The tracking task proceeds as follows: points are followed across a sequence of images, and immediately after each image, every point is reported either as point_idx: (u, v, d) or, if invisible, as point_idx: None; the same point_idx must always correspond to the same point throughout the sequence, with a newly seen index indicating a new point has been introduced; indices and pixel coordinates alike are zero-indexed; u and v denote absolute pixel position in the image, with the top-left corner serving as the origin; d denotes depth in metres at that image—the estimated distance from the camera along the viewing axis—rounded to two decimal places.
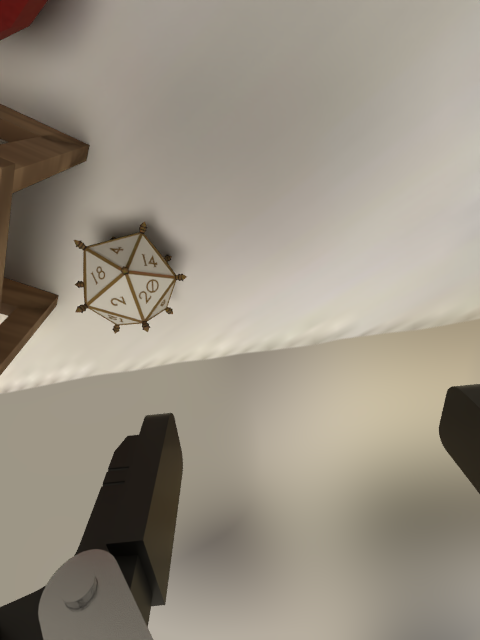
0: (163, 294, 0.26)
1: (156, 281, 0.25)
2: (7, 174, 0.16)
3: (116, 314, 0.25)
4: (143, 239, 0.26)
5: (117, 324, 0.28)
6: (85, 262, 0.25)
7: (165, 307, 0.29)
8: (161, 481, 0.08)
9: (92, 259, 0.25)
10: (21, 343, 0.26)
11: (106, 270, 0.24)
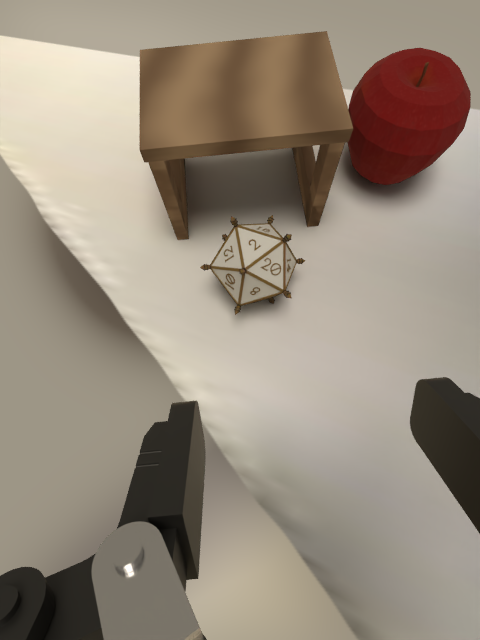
0: (269, 282, 0.28)
1: (279, 271, 0.28)
2: (345, 135, 0.25)
3: (240, 247, 0.28)
4: (294, 262, 0.31)
5: (212, 265, 0.30)
6: (262, 224, 0.30)
7: (242, 302, 0.30)
8: (192, 463, 0.08)
9: (268, 226, 0.30)
10: (169, 195, 0.30)
11: (271, 232, 0.29)
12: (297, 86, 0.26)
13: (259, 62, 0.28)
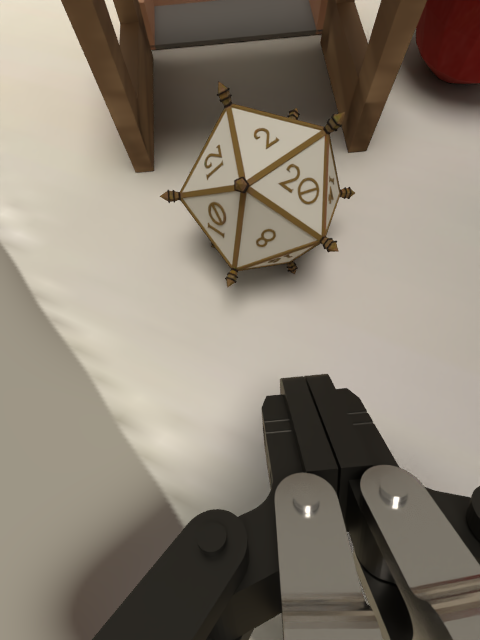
0: (296, 218, 0.14)
1: (315, 197, 0.14)
2: None
3: (236, 143, 0.13)
4: (338, 193, 0.17)
5: (183, 191, 0.15)
6: None
7: (240, 263, 0.16)
8: None
9: None
10: (102, 57, 0.16)
11: None
12: None
13: None
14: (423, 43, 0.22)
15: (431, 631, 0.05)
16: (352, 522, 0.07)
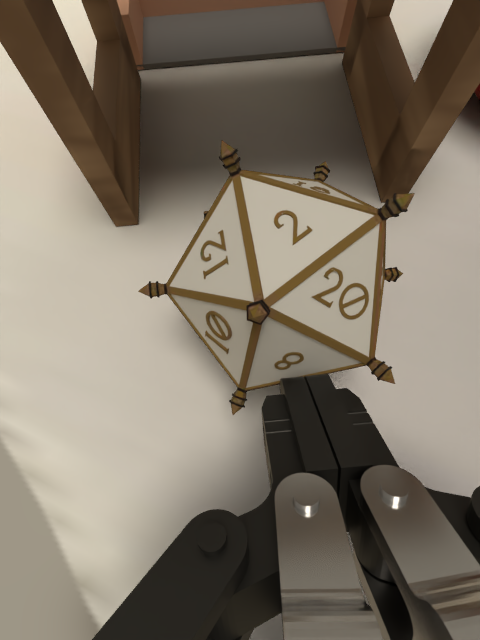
0: (335, 341, 0.09)
1: (362, 308, 0.10)
2: None
3: (248, 235, 0.09)
4: (382, 278, 0.12)
5: (170, 285, 0.11)
6: (303, 178, 0.12)
7: (251, 384, 0.11)
8: None
9: (320, 185, 0.12)
10: (58, 96, 0.11)
11: (336, 196, 0.10)
12: None
13: None
14: None
15: (431, 632, 0.05)
16: (352, 522, 0.07)
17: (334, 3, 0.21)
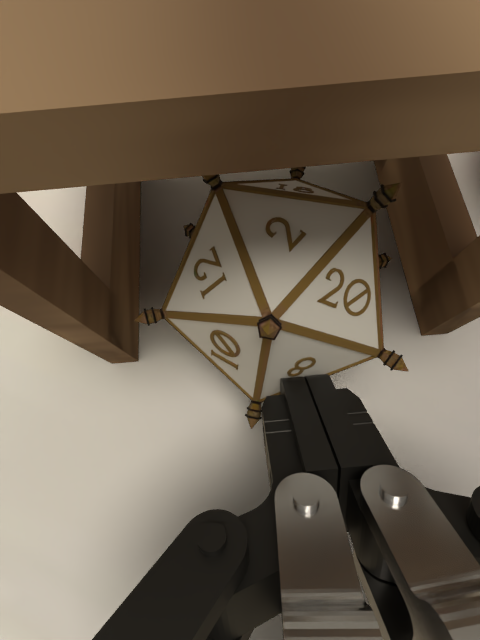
0: (345, 340, 0.09)
1: (366, 302, 0.10)
2: None
3: (242, 249, 0.09)
4: None
5: (167, 309, 0.11)
6: (282, 179, 0.12)
7: (265, 395, 0.11)
8: None
9: (299, 184, 0.11)
10: (33, 304, 0.09)
11: (320, 193, 0.10)
12: None
13: None
14: None
15: (430, 631, 0.05)
16: (352, 522, 0.07)
17: None
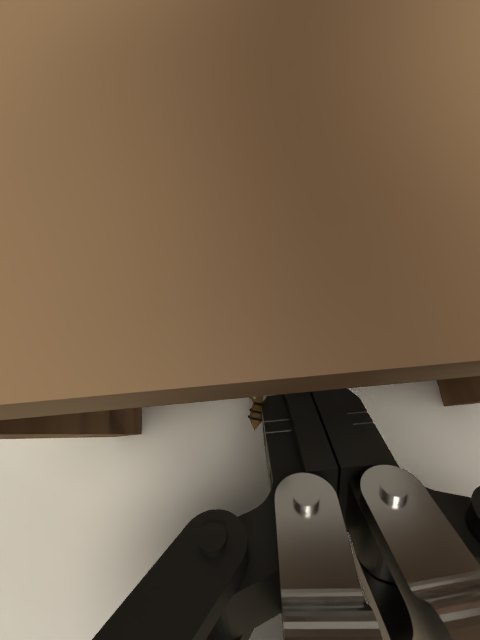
0: None
1: None
2: None
3: None
4: None
5: None
6: None
7: None
8: None
9: None
10: (25, 435, 0.08)
11: None
12: None
13: None
14: None
15: (430, 632, 0.05)
16: (352, 522, 0.07)
17: None
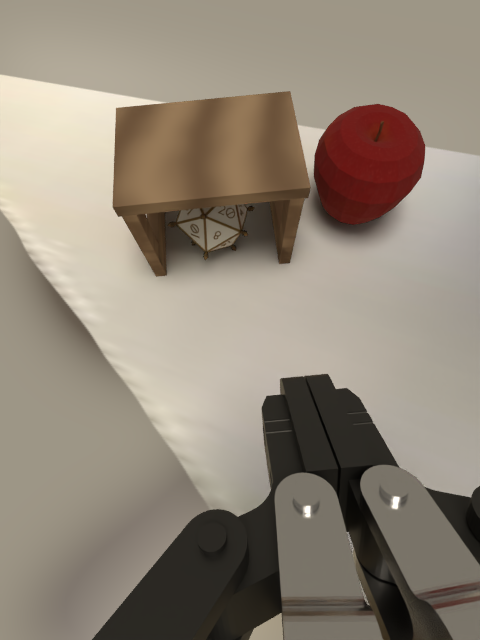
0: (227, 225, 0.34)
1: (233, 215, 0.34)
2: (304, 192, 0.27)
3: None
4: (246, 209, 0.37)
5: (177, 221, 0.35)
6: None
7: (208, 248, 0.35)
8: None
9: None
10: (144, 241, 0.32)
11: None
12: (260, 145, 0.29)
13: (226, 121, 0.30)
14: (321, 201, 0.38)
15: (430, 632, 0.05)
16: (352, 522, 0.07)
17: None
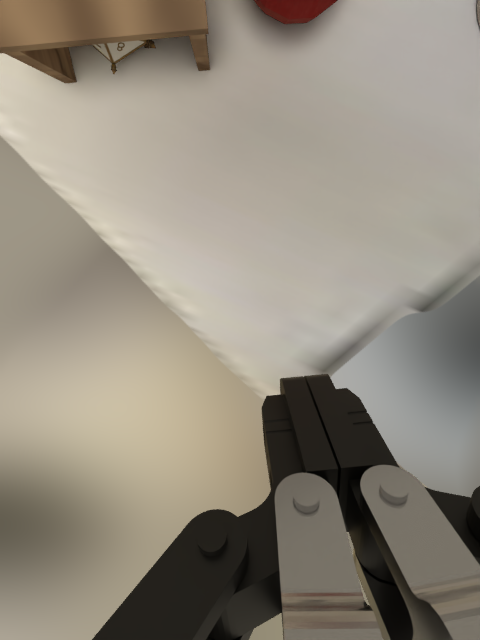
0: None
1: None
2: (202, 31, 0.25)
3: None
4: None
5: None
6: None
7: (114, 60, 0.32)
8: None
9: None
10: (39, 65, 0.29)
11: None
12: None
13: None
14: None
15: (430, 632, 0.05)
16: (352, 522, 0.07)
17: None
